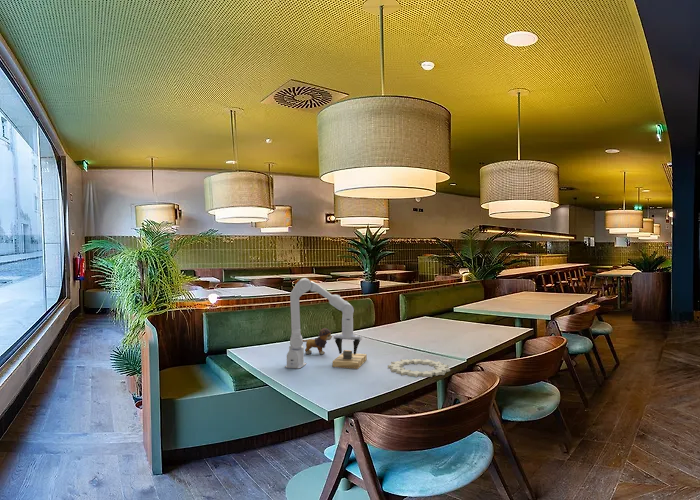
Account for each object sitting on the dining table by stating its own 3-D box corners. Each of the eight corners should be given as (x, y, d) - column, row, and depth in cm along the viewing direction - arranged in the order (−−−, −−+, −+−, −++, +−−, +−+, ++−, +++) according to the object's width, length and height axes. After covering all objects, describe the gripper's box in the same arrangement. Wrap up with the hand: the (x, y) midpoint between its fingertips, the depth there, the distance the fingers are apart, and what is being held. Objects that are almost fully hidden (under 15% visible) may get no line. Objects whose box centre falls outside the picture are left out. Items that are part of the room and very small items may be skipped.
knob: (353, 363, 228) (353, 349, 228) (350, 365, 224) (350, 351, 224) (344, 362, 230) (344, 349, 230) (341, 364, 225) (341, 351, 225)
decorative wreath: (448, 362, 229) (390, 360, 234) (448, 359, 229) (390, 357, 234) (451, 379, 200) (385, 376, 205) (451, 376, 200) (384, 373, 205)
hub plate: (357, 368, 217) (357, 362, 217) (332, 367, 221) (332, 360, 221) (366, 359, 235) (366, 353, 234) (343, 358, 238) (343, 352, 238)
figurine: (331, 356, 243) (331, 328, 243) (294, 354, 248) (293, 327, 247) (334, 353, 250) (334, 326, 250) (298, 351, 254) (297, 325, 254)
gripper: (363, 326, 229) (363, 352, 229) (336, 325, 233) (336, 351, 233) (359, 328, 222) (359, 355, 222) (332, 327, 226) (332, 354, 226)
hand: (347, 353), depth 227 cm, fingers open, 7 cm apart
